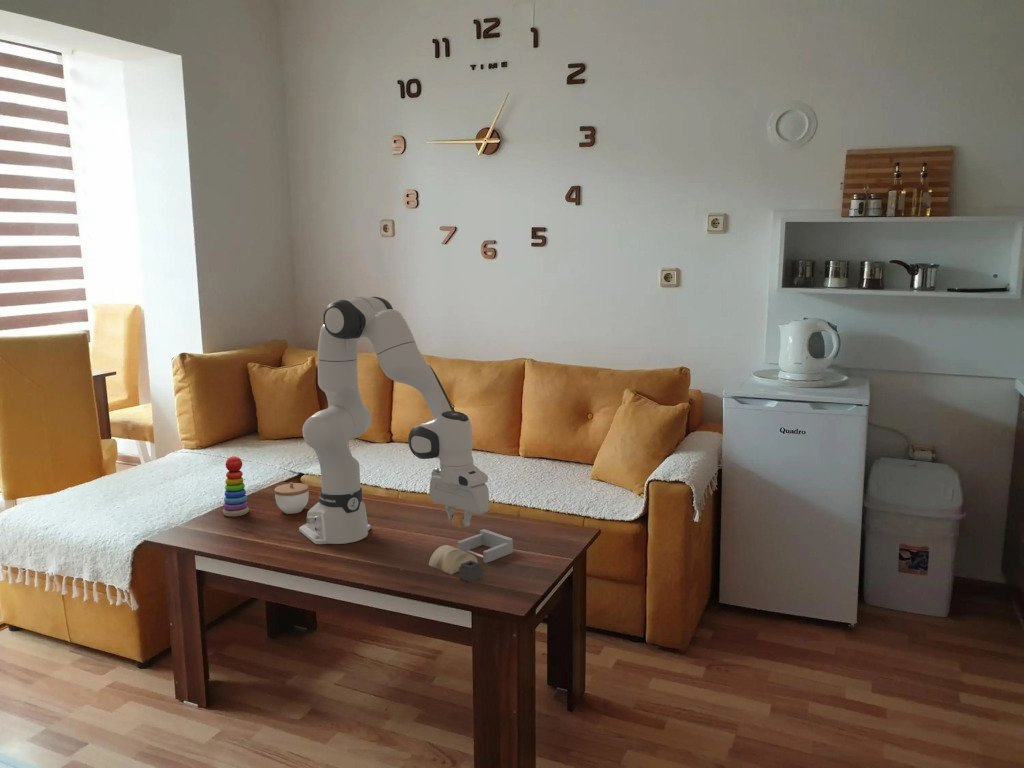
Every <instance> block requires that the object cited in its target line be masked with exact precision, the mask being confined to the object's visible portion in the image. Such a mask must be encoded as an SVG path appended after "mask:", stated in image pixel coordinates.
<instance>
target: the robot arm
mask: <svg viewBox="0 0 1024 768" xmlns="http://www.w3.org/2000/svg"><path fill="white" fill-rule="evenodd" d="M322 317H323V318H322V320H323V324H322V325H321V327H320V331H319V337H318V344H317V384H318V387H319V389H320V390H321V391H323V392H324V394H325V396H326V399H327V405H328V407H327V408H325V409H321V410H319V411H317V412H315V413H314V414H312V415H311V416H310V417H308V418H307V419H306V420H305V422H304V423H303V425H302V430H301V431H302V436H303V439H304V442H305V443H306V444H307V445H308V446H309V447H310V448H311V449H312V450H314V453H315V455H316V458H317V460H318V463H319V468H320V478H321V479H320V480H321V489H319V490H317V492H318V493H317V495H319V496H318V502H317V503H315V504H314V505H313V506H312V507H311V508H310V509H309V510H307V512H306V513H307V514H306V523H304V524H303V525H301V526H299V528H298V531H299V532H300V533H301V534H303V536H305V537H306V538H307V539H309V540H310V541H311V542H312V543H314V544H315V545H325V544H326V545H327V544H331V545H340V544H341V545H342V544H349V543H354V542H355V543H356V542H358V541H361V540H363V539H365V538H366V537H368V535H369V531H370V530H371V529H372V528H371V524H369V523H368V517H367V510H366V504H365V503H364V501H363V494H364V493H363V487H362V486H361V476H360V475H361V473H360V471H361V470H360V469H361V468H360V462H359V460H357V459H356V458H355V457H354V456H353V455H352V452H351V449H350V441H352V440H355V439H357V438H359V437H361V436H362V435H363V434H364V433H365V432H366V431H367V430H368V429H369V428H370V427H371V423H372V414H371V411H370V409H369V408H368V406H367V405H366V404H364V402H363V399H362V397H361V393H360V388H359V381H358V380H359V379H358V378H359V377H358V375H359V374H358V344H359V342H360V339H363V338H367V339H368V340H370V342H371V344H372V346H373V349H374V352H375V355H376V358H377V360H378V363H379V366H380V367H381V370H382V372H383V373H384V375H385V376H386V377H387V378H389V379H390V380H392V381H394V382H395V383H396V382H397V383H400V384H404V385H407V386H410V387H413V388H414V389H415V390H417V391H418V393H420V394H421V395H422V397H423V399H424V401H425V403H426V405H427V408H428V410H429V411H430V413H431V415H432V418H433V419H431V420H429V421H426V422H423V423H420V424H417V425H416V426H414V427H411V429H410V431H409V433H408V438H407V441H408V443H407V444H408V448H409V450H410V452H411V453H412V454H413V456H415V457H416V458H418V459H420V460H430V459H438V460H439V467H435V468H434V469H433V470H432V471H431V478H430V481H429V499H430V500H431V502H433V503H437V504H440V505H444V510H445V512H446V514H447V516H448V517H447V518H448V521H449V522H450V523H452V517H453V516H454V515H455V514H456V513H455V511H454V508H455V509H457V510H461V511H463V514H464V515H465V517H464V519H462V525H463V526H464V527H469V526H471V518H472V516H473V515H478V516H479V515H483V514H486V513H487V512H488V511H489V509H490V493H489V488H488V485H487V482H488V481H489V478H488V475H487V474H486V473H485V472H484V471H482V470H481V469H479V467H477V466H476V465H475V464H474V458H473V452H472V451H473V447H474V440H473V437H474V436H473V429H472V428H473V427H472V423H471V420H470V418H469V416H468V415H467V414H465V413H464V412H461V411H456V410H455V409H454V407H453V405H452V403H451V401H450V399H449V397H448V394H447V393H446V391H445V389H444V387H443V385H442V383H441V381H440V378H439V376H438V375H437V374H436V372H435V370H434V369H433V367H432V366H431V365H430V364H428V362H426V360H425V358H424V356H422V354H421V352H420V349H419V348H418V345H417V343H416V340H415V337H414V335H413V332H412V331H411V329H410V326H409V325H408V323H407V321H406V319H405V318H404V316H403V315H402V313H401V312H400V311H398V310H396V309H394V307H393V306H392V304H391V303H390V301H389V300H387V299H385V298H383V297H379V296H357V297H353V298H346V299H338V300H336V301H333V302H331V303H330V304H328V305H327V306H326V307H325V309H324V312H323V316H322Z"/></svg>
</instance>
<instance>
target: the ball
mask: <svg viewBox="0 0 1024 768" xmlns="http://www.w3.org/2000/svg"><path fill="white" fill-rule="evenodd" d="M464 517H465V514H464V512H463V513H462V512H456V513H455V515H454V516H453V517H452V522H451V523H452V525H453V526H454V527H455V528H457V529H462V528H464V527H465V526H463V525H462V519H464Z"/></svg>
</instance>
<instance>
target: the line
mask: <svg viewBox="0 0 1024 768" xmlns="http://www.w3.org/2000/svg"><path fill="white" fill-rule="evenodd" d="M465 552H467V553H470V554H472V555H474V556H477V557H479V558H483V554H480V553H477V552H475V551H472V550H471V549H470V550H467V551H465Z"/></svg>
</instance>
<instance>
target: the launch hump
mask: <svg viewBox="0 0 1024 768" xmlns="http://www.w3.org/2000/svg"><path fill="white" fill-rule="evenodd" d="M470 560H471V561H474V562H477V563H479V561H478V558H477V557H476V555H474V554H472V553H469V552H466V551H462V550H459V549H457V547H454V546H451V545H447V544H445V545H444V544H443V545H440V546H439V547H437V548H436V549H435V550H434V551H433V553H432V554H431V556H430V559H429V561H428V566H430V567H432V568H435V569H437V570H439V571H441V572H445V573H446V574H449V575H453V574H456V573H459V567H461V564H462V563H465V562H468V561H470Z"/></svg>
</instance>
